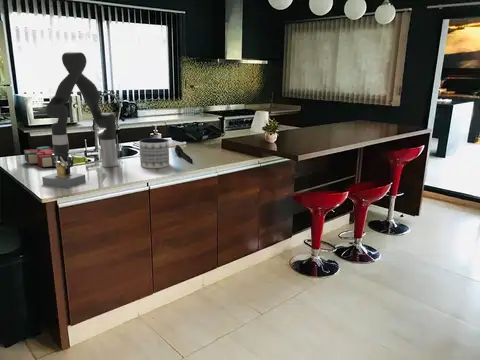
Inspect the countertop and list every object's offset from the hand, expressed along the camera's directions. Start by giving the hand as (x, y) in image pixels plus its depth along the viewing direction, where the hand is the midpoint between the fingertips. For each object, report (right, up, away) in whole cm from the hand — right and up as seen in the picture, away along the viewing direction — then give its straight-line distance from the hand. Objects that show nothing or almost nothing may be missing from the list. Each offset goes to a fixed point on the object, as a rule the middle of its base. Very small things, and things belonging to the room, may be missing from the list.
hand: (63, 174), depth 209 cm
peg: (0, -5, +1) cm, 5 cm away
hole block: (0, -5, +1) cm, 5 cm away
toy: (-30, +7, +44) cm, 54 cm away
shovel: (+55, +11, +66) cm, 86 cm away
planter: (+39, +6, +44) cm, 59 cm away
